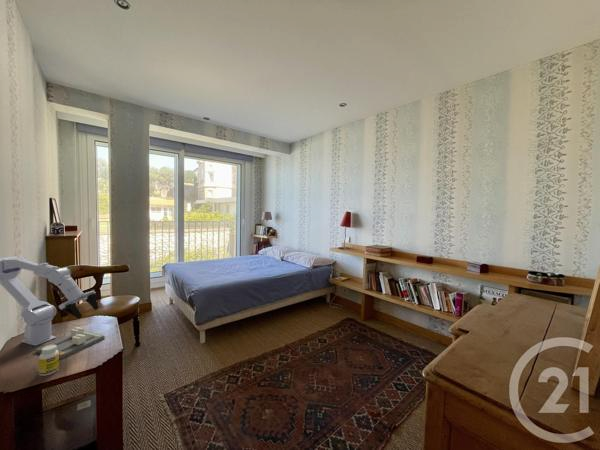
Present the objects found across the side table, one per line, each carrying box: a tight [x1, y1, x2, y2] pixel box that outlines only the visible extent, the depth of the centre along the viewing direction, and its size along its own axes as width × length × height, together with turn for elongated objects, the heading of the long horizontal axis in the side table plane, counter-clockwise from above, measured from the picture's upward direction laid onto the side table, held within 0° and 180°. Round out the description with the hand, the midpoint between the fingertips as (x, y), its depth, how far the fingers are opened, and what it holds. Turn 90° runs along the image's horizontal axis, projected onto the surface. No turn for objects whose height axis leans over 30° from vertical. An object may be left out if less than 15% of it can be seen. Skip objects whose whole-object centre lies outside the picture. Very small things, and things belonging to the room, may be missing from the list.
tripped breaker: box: [72, 334, 86, 345], centre depth 113 cm, size 4×3×3 cm
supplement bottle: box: [38, 345, 60, 377], centre depth 95 cm, size 5×5×10 cm
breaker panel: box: [35, 330, 105, 360], centre depth 114 cm, size 15×18×2 cm
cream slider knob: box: [69, 326, 85, 336], centre depth 119 cm, size 4×3×3 cm
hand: (89, 313), depth 116 cm, fingers open, 7 cm apart
